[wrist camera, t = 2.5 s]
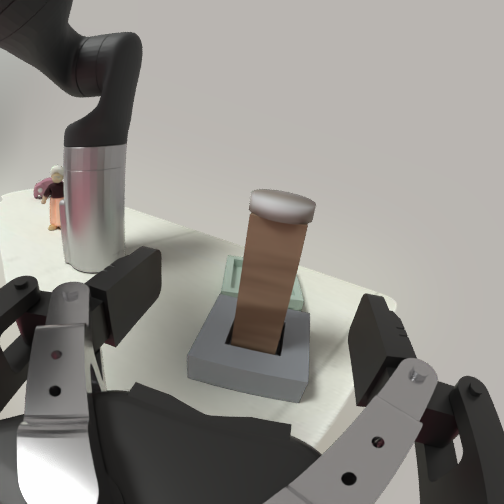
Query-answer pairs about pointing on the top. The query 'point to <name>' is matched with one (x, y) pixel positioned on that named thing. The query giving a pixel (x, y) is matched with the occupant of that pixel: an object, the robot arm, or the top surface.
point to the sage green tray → (233, 282)
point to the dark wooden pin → (269, 267)
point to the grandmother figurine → (55, 196)
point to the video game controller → (42, 186)
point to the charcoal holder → (251, 356)
